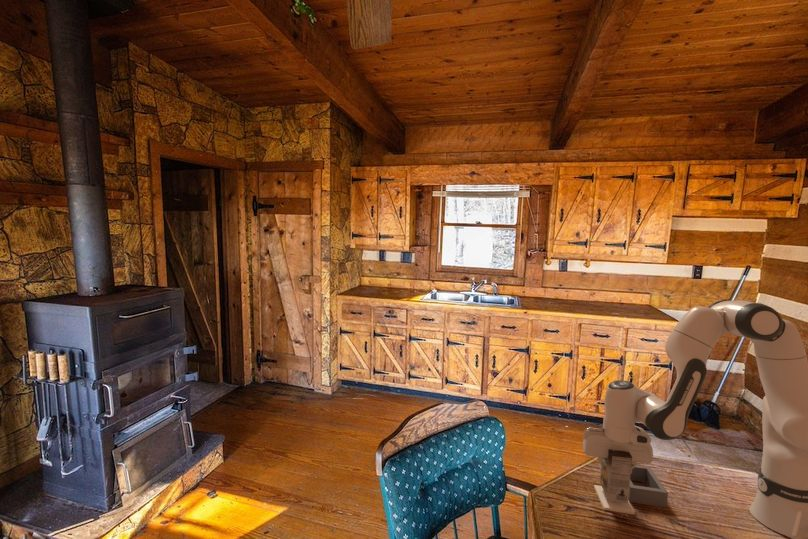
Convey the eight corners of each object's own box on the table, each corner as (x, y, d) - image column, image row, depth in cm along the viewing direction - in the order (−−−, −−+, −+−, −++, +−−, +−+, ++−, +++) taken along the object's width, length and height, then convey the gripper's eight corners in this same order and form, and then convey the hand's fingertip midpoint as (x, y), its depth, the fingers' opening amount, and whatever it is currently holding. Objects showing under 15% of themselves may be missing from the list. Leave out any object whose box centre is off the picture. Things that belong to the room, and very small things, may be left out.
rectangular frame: (648, 479, 134) (649, 466, 133) (666, 507, 120) (667, 492, 120) (615, 475, 136) (615, 462, 136) (629, 501, 122) (630, 487, 122)
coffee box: (598, 481, 128) (602, 438, 126) (619, 484, 127) (622, 440, 125) (607, 500, 119) (611, 454, 118) (629, 504, 118) (633, 456, 116)
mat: (622, 491, 127) (622, 489, 127) (634, 514, 117) (634, 512, 117) (593, 487, 129) (594, 484, 129) (603, 509, 119) (603, 507, 119)
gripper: (586, 431, 120) (583, 471, 121) (656, 439, 116) (653, 481, 117) (581, 421, 126) (579, 460, 128) (648, 429, 122) (645, 469, 123)
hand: (615, 470), depth 122 cm, fingers closed on coffee box, 6 cm apart
